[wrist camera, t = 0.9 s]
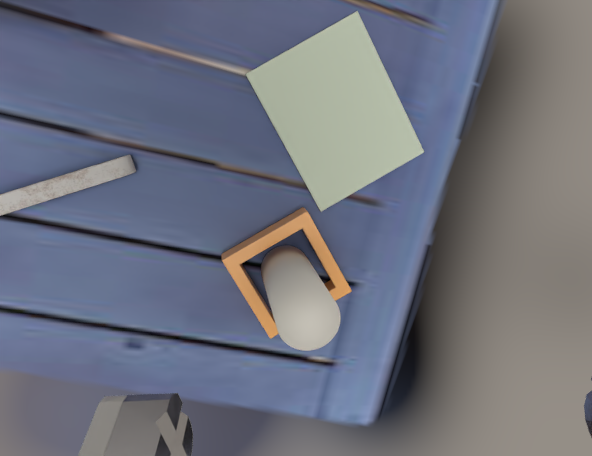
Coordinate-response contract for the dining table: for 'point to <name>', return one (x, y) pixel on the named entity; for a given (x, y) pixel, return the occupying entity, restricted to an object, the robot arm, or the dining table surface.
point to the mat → (336, 111)
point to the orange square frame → (268, 239)
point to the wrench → (66, 184)
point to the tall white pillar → (299, 299)
